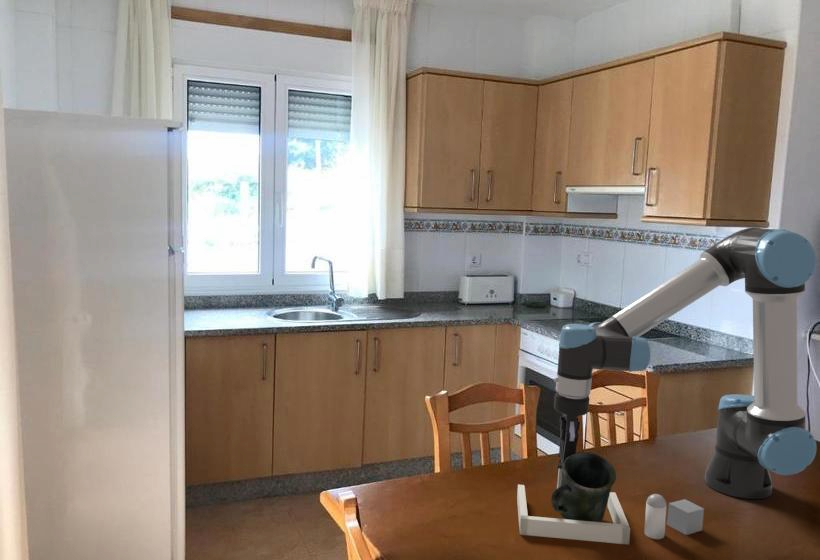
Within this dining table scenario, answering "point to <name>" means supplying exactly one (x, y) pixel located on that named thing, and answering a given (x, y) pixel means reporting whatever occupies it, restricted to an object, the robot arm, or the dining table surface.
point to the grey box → (685, 516)
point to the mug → (584, 487)
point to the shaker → (655, 517)
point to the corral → (575, 524)
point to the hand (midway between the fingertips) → (562, 494)
